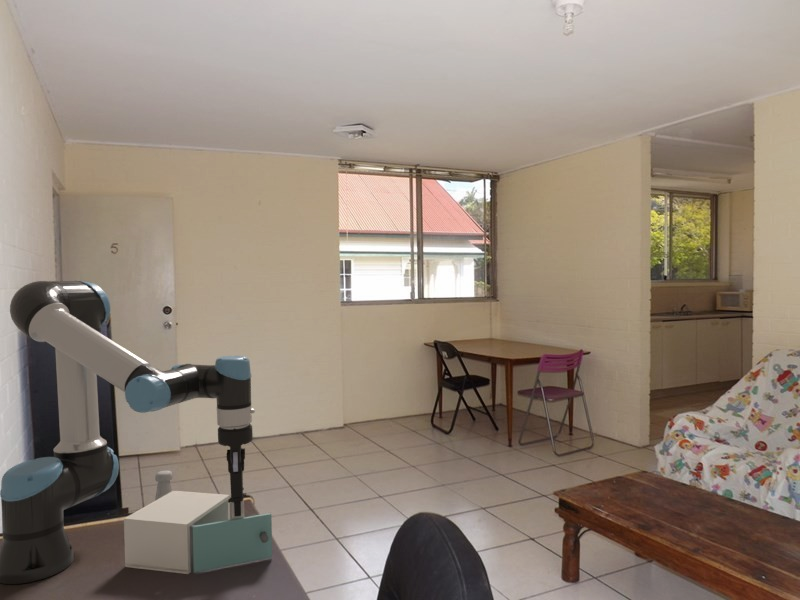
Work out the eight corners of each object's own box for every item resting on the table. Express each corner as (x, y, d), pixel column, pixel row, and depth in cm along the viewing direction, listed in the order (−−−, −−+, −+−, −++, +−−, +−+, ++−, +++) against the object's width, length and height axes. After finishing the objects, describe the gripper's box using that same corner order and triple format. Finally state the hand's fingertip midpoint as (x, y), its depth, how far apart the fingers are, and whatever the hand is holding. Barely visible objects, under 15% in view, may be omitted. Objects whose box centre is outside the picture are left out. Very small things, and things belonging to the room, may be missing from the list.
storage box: (125, 566, 130) (123, 518, 130) (174, 533, 147) (173, 490, 147) (188, 574, 126) (187, 524, 126) (230, 538, 144) (229, 494, 143)
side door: (190, 570, 127) (189, 525, 126) (271, 554, 134) (270, 511, 133) (191, 578, 123) (190, 531, 123) (274, 561, 130) (273, 517, 130)
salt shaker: (162, 514, 160) (161, 467, 160) (180, 515, 159) (179, 468, 158) (149, 522, 154) (147, 474, 154) (168, 524, 153) (166, 475, 153)
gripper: (252, 430, 125) (255, 538, 126) (252, 417, 137) (255, 514, 138) (215, 433, 123) (219, 542, 124) (219, 419, 135) (222, 518, 136)
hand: (238, 527), depth 131 cm, fingers closed
